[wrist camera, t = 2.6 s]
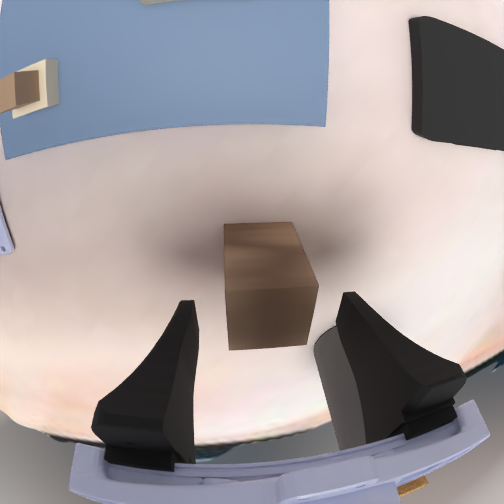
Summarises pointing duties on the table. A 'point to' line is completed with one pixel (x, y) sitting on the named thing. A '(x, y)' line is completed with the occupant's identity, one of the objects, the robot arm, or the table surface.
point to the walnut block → (267, 286)
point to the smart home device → (456, 85)
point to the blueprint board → (157, 67)
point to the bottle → (346, 398)
